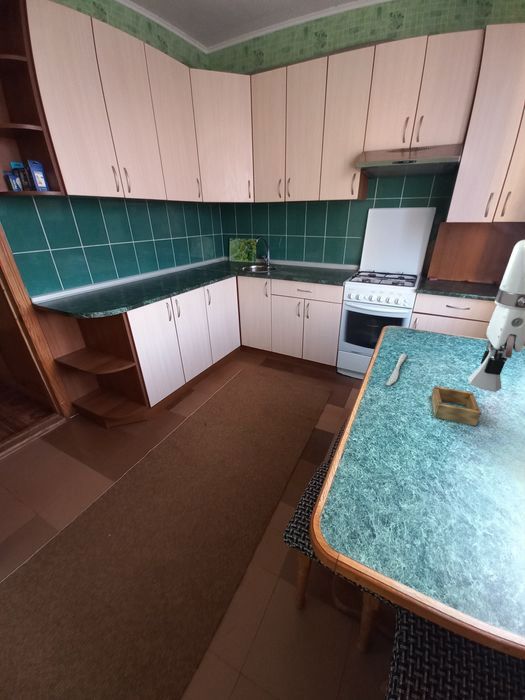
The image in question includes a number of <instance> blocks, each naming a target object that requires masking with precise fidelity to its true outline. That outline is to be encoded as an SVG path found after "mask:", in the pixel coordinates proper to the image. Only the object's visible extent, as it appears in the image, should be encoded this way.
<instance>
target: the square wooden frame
mask: <svg viewBox="0 0 525 700" xmlns="http://www.w3.org/2000/svg"><path fill="white" fill-rule="evenodd" d="M430 399H431V405H432V410H433V414H434V418H437V419H441V420H446V421H452V422H455V423H456V422H457V423H461V424H466V425H470V426H477V424H478V422H479V420H480V417H481V415H482V412H481V409H480V407H479V404H478V402H477V400H476V397H475V395H474V392H473V391H466V390H461V389H456V388H455V389H454V388H449V387H444V386H443V387H442V386H438V385H437V386H436V385H434V386H433V389H432V392H431V396H430ZM442 402H445V403H451V404H456V405H459V406H455V405H451V404H445V403H442ZM460 405H461V406H465V407H461V406H460Z"/></svg>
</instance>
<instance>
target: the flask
mask: <svg viewBox="0 0 525 700" xmlns="http://www.w3.org/2000/svg"><path fill="white" fill-rule="evenodd" d="M493 350H494V347H491V348H489V354H488V356H487V358H486V359H485V361H484V362H483V363H482V364H481V363H480V365H479V366H478V367H477V368H476V369H475V370H474V371H473V372H472V373H471V374H470V375H469V376H468V377H467V381H468V384H469V385H471V386H473V387H475V388H478V389H480V390H482V391H487V392H494V393H496V392H498V391H500V390H501V389H502V380H501V374H500V375H495V374H489V373H485V372H484V370H485V367H486V365H487V362H488V359H489V358H491V356H492V353H493ZM499 352H500V353H502V352H503V351H498V353H499ZM498 353H497V354H498Z"/></svg>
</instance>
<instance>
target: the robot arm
mask: <svg viewBox="0 0 525 700" xmlns="http://www.w3.org/2000/svg"><path fill="white" fill-rule="evenodd" d="M511 251H512V252H511V255H510V257H509V260H508V263H507V266H506V268H505V271H504V274H503V277H502V280H501V282H500V285H499V288H498V291H497V294H496V296H495V299H494V305H496V306H495V308H494V311H493V313H492V315H491V318H490V320H489V323H488V326H487V328H486V338H487V339H488V340H487V344H486V346H485V350H484V353H483V355H482V358H481V360H480V365H481V364H482V363H483V362H484V361H485V359H486V358H487V356H488V354H489V348H491V347H494V350H493V353H492V356H491V358H489V359H488V362H487V365H486V367H485V370H484V372H485V373H489V374H495V375H500V376H501V373H502V371H503V369H504V367H505V364H506V362H508V359H511V358H512V355H513V351H514V352H515V353H520V352H522V350H523V348H524V345H525V239H521V240H519V241H518V242H516V244H515V245H514V246H513V249H512V250H511ZM498 351H503V352H502V353H500V352H499V353H498ZM497 353H498V354H497Z"/></svg>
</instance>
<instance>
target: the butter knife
mask: <svg viewBox="0 0 525 700" xmlns="http://www.w3.org/2000/svg"><path fill="white" fill-rule="evenodd" d="M407 357H408V356H407V354H405V353H401V354H400V355H399V357H398V360H397V363H396V366H395V368H394V369H393V371H392V373H391V374H390V376H389V378H388V380H387V382H386V384H385V385H386V386H392V384H394V383H395V382H397V380H398V378H399V375H400V367H401V365H402V364H403V363H404V362H405V360H406V359H407Z"/></svg>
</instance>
